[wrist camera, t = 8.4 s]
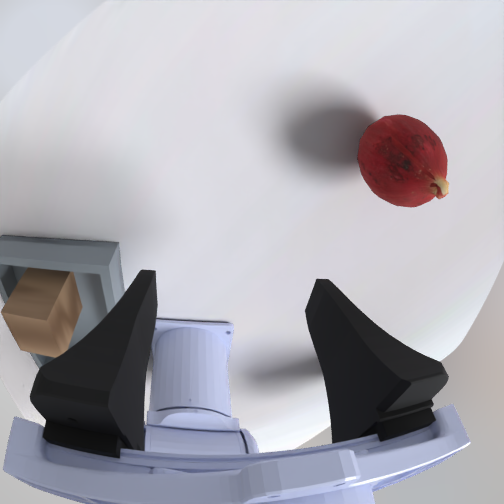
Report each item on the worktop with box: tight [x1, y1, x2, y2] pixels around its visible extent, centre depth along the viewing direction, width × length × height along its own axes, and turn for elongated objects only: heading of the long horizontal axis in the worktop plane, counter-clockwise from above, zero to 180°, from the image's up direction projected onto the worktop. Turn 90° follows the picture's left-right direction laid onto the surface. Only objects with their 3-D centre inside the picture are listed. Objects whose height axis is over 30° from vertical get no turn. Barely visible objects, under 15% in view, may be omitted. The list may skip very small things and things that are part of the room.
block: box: [1, 267, 83, 358], centre depth 20 cm, size 4×4×6 cm
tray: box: [0, 235, 125, 369], centre depth 24 cm, size 16×12×3 cm
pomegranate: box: [357, 115, 449, 207], centre depth 16 cm, size 6×6×8 cm
